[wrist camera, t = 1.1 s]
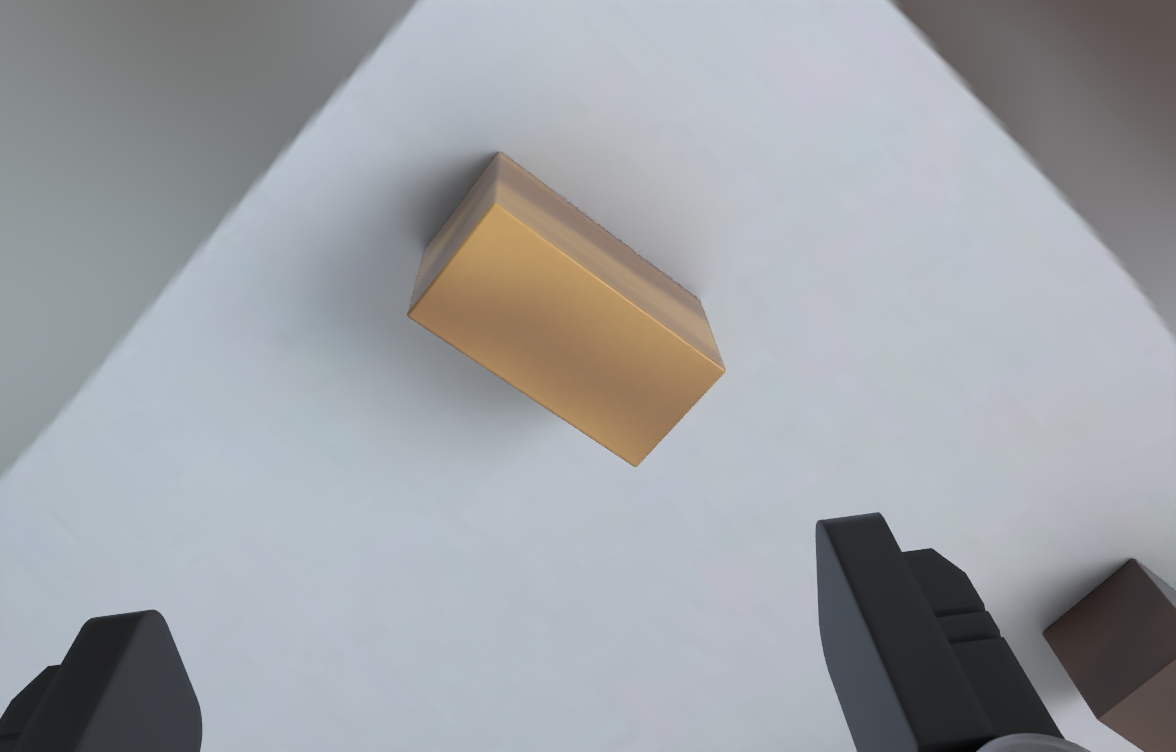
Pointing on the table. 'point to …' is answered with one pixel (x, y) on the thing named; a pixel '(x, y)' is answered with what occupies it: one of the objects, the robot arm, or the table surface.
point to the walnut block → (1125, 655)
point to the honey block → (565, 312)
